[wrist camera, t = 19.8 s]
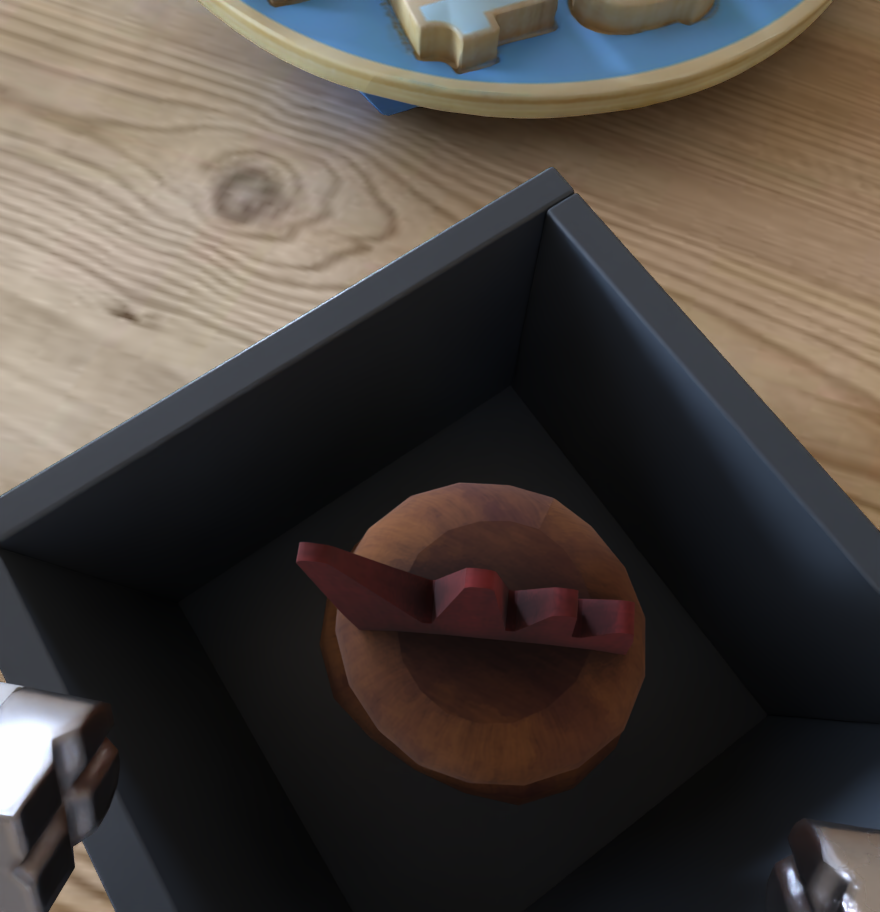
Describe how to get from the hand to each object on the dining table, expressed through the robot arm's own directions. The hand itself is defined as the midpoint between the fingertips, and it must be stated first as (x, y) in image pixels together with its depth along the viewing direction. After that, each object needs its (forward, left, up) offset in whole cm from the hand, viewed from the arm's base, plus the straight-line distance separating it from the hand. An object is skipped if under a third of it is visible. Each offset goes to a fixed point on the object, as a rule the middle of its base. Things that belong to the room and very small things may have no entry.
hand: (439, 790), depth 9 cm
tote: (+1, -2, -13) cm, 13 cm away
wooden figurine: (+1, -2, -12) cm, 12 cm away
